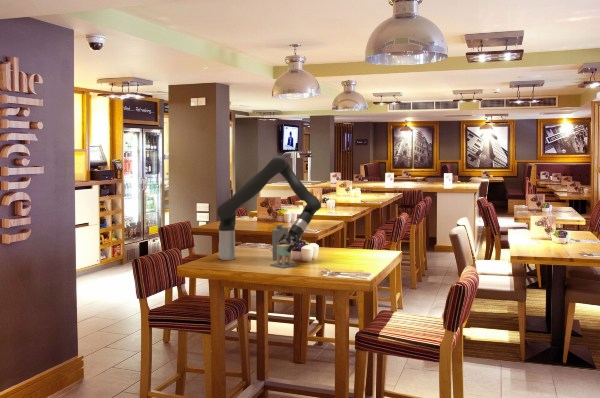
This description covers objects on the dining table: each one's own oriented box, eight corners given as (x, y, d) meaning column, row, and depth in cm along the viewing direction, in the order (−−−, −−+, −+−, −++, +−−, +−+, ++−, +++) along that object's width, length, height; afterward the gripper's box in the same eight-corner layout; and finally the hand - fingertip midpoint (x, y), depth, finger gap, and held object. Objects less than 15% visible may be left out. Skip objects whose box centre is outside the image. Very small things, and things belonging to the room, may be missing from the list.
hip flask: (276, 260, 360) (275, 226, 359) (270, 259, 362) (269, 226, 361) (289, 256, 374) (289, 223, 373) (283, 255, 376) (283, 222, 375)
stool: (276, 264, 345) (276, 245, 344) (284, 262, 348) (284, 244, 347) (283, 265, 340) (283, 246, 340) (291, 264, 344) (290, 245, 343)
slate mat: (270, 265, 345) (270, 264, 345) (285, 263, 352) (285, 261, 352) (283, 268, 337) (283, 266, 336) (298, 265, 344) (298, 264, 344)
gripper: (286, 222, 353) (271, 245, 346) (303, 225, 343) (287, 248, 336) (293, 231, 357) (278, 253, 350) (310, 233, 347) (295, 256, 340)
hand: (283, 250), depth 343 cm, fingers open, 8 cm apart
